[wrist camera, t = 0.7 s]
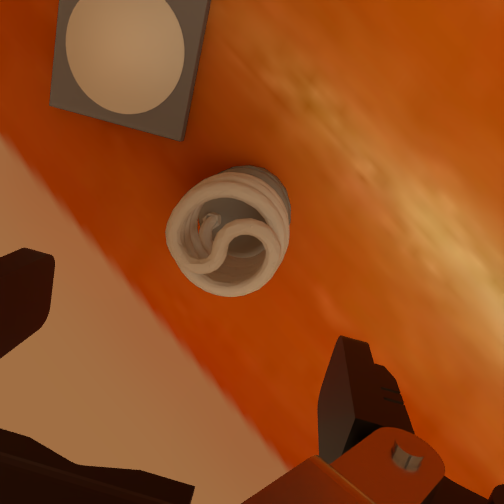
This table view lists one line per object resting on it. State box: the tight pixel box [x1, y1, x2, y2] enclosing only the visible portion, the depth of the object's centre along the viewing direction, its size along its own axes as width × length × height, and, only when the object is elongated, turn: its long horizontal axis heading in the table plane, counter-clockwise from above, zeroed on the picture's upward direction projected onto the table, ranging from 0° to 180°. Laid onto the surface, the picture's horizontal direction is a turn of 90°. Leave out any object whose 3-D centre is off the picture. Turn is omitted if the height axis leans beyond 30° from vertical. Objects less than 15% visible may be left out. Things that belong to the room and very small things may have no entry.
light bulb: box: [166, 165, 291, 297], centre depth 24 cm, size 6×6×12 cm
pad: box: [49, 0, 211, 141], centre depth 28 cm, size 9×9×1 cm
